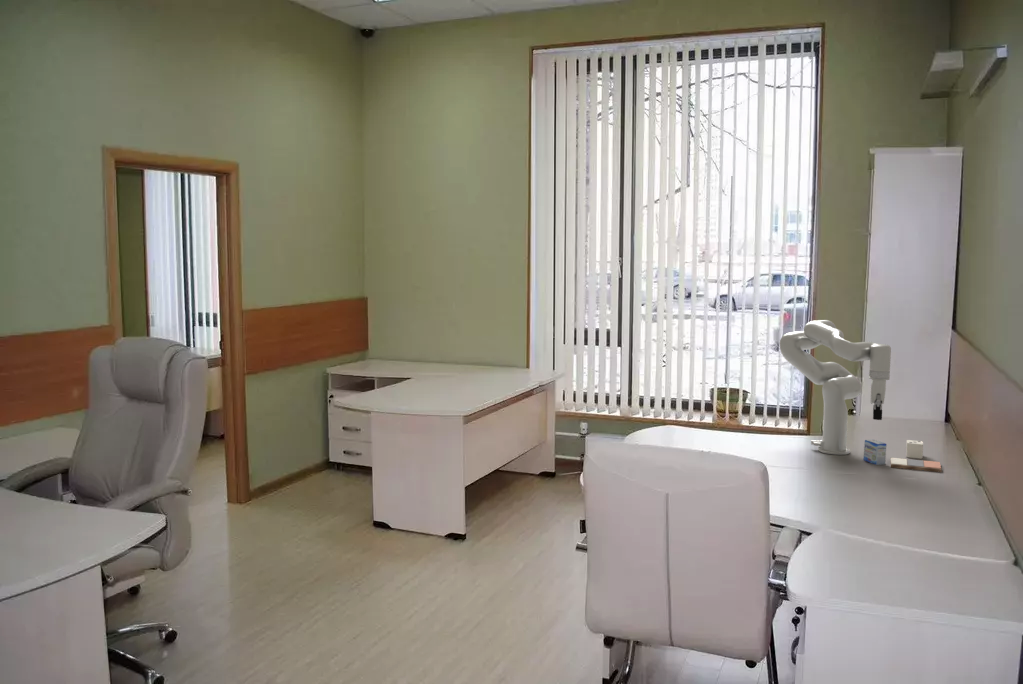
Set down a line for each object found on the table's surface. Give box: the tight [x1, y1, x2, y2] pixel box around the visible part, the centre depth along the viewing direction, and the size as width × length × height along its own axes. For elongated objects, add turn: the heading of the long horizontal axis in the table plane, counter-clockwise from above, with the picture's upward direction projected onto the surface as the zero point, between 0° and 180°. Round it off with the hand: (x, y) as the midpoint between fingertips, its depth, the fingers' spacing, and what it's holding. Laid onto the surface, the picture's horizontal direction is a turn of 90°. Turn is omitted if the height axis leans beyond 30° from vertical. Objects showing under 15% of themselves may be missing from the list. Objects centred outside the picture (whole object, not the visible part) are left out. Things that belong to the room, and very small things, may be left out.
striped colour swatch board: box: [890, 457, 942, 473], centre depth 341 cm, size 18×12×1 cm, turn 66°
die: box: [905, 439, 924, 460], centre depth 357 cm, size 6×6×6 cm
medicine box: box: [863, 439, 888, 466], centre depth 347 cm, size 8×4×9 cm, turn 17°
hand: (877, 417), depth 345 cm, fingers open, 9 cm apart
